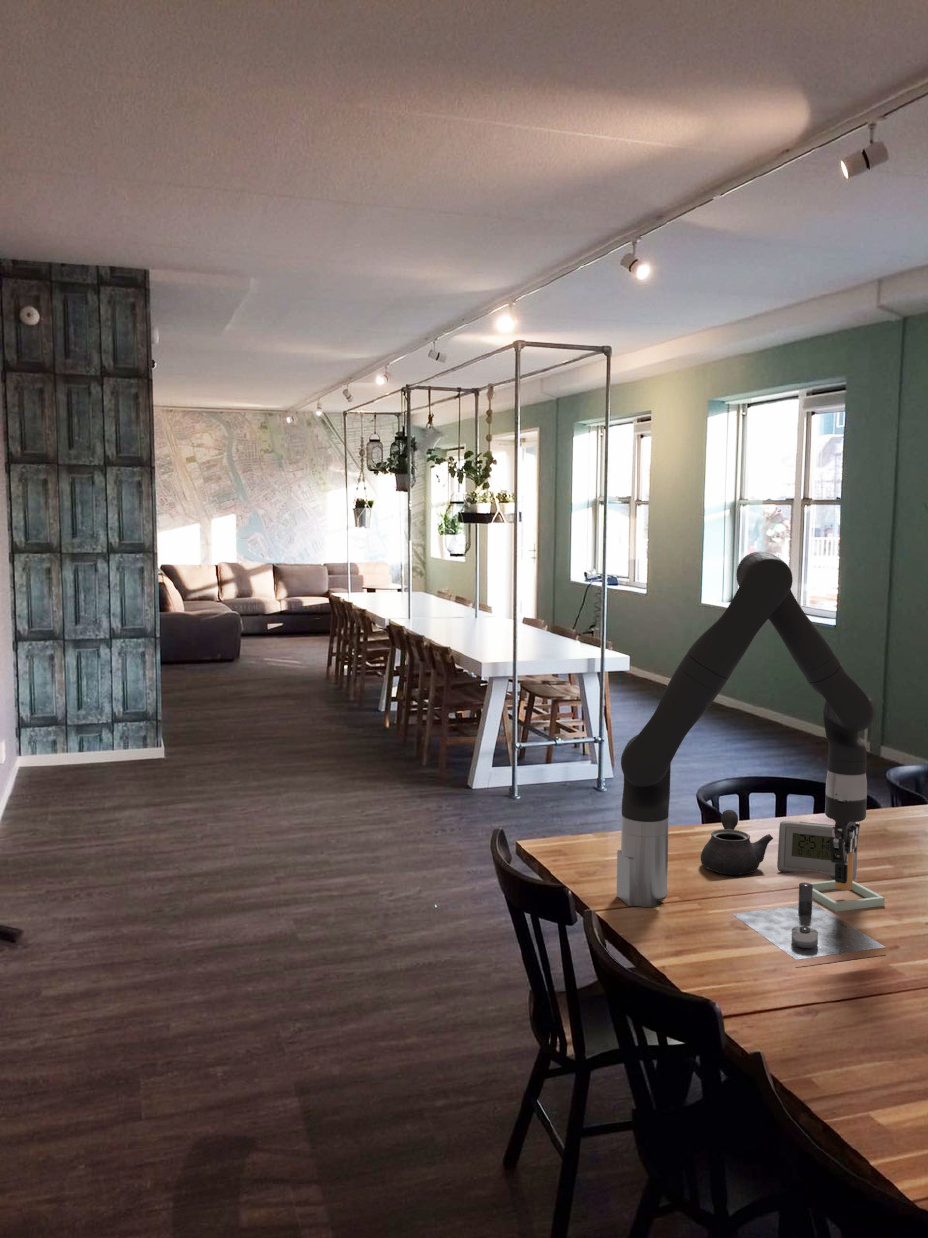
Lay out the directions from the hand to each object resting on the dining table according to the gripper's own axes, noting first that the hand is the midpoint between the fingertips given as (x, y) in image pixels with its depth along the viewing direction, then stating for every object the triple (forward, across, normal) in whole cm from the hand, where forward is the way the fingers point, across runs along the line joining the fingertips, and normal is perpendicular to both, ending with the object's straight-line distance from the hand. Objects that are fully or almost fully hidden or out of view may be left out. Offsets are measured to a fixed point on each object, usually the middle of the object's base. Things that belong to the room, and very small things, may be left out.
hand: (843, 879), depth 203 cm
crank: (+4, +20, -2) cm, 21 cm away
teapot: (+6, -12, -26) cm, 30 cm away
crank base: (+5, +20, -2) cm, 20 cm away
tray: (+5, 0, 0) cm, 5 cm away
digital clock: (+6, -15, -9) cm, 19 cm away
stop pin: (+2, 0, 0) cm, 2 cm away
